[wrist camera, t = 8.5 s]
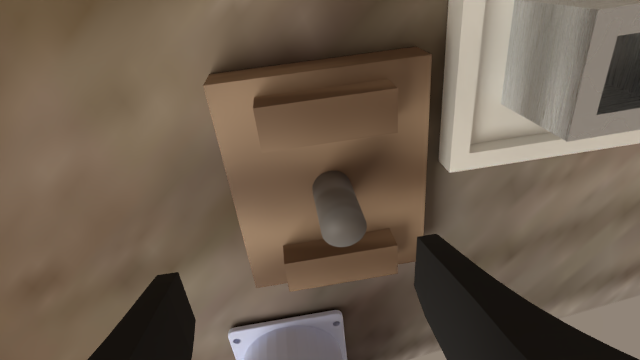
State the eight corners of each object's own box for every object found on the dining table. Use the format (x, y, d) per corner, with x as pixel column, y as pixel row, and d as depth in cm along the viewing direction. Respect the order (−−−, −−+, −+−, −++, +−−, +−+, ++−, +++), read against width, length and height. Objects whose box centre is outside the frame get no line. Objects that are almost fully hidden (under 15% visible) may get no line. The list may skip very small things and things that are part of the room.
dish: (618, 133, 22) (640, 143, 21) (438, 160, 21) (449, 172, 20) (691, -96, 17) (727, -101, 15) (452, -68, 16) (469, -71, 15)
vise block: (410, 252, 25) (445, 319, 20) (260, 277, 24) (258, 353, 19) (416, 46, 18) (469, 73, 13) (209, 74, 18) (188, 112, 13)
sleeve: (590, 89, 20) (680, 122, 16) (500, 104, 20) (567, 141, 15) (617, -16, 17) (732, -11, 13) (514, -1, 17) (598, 9, 13)
